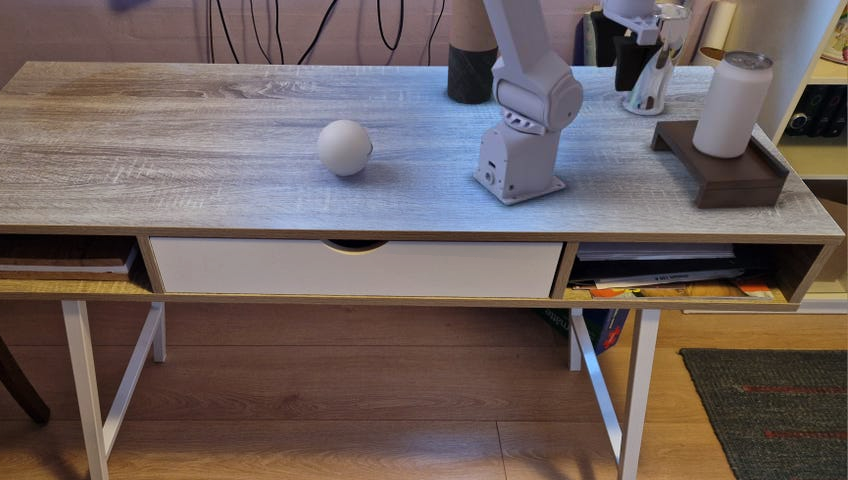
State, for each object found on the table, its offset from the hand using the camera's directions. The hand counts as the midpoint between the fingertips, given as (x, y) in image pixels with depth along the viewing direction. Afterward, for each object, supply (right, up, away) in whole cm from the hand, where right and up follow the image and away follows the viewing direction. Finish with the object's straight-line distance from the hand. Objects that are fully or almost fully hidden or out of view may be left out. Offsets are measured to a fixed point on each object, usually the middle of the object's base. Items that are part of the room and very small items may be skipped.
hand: (613, 78), depth 94 cm
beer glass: (+10, 0, +17) cm, 20 cm away
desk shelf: (+13, -13, +1) cm, 18 cm away
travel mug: (-16, +3, +20) cm, 26 cm away
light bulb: (-36, -10, -1) cm, 37 cm away
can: (+13, -10, -2) cm, 16 cm away
